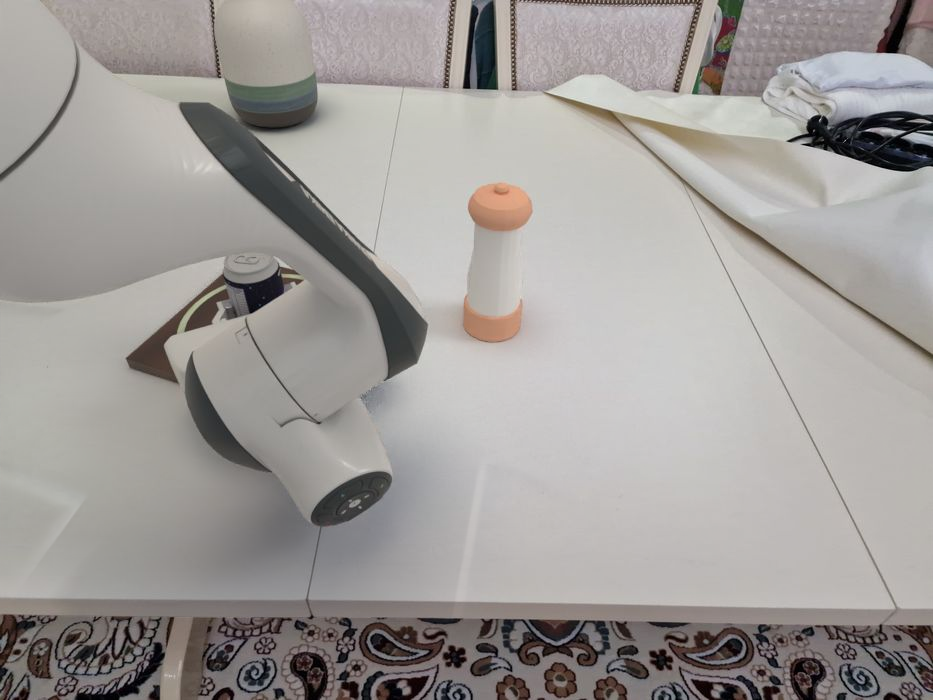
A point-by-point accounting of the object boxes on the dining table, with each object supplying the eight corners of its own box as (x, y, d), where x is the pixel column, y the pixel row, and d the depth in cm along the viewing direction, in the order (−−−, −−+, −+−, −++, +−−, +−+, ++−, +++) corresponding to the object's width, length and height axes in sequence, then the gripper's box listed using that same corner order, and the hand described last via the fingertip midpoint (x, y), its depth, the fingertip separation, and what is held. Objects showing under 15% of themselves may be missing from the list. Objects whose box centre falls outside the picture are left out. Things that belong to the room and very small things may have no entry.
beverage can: (284, 365, 68) (263, 277, 60) (236, 359, 69) (209, 271, 61) (303, 333, 73) (285, 246, 64) (257, 327, 73) (234, 240, 65)
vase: (332, 105, 129) (316, -27, 112) (304, 138, 116) (282, -4, 100) (254, 99, 130) (228, -32, 114) (219, 131, 118) (184, -11, 102)
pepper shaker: (504, 349, 74) (518, 208, 61) (452, 329, 77) (454, 189, 64) (529, 317, 79) (547, 179, 66) (479, 298, 81) (487, 162, 68)
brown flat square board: (129, 367, 70) (124, 356, 69) (244, 265, 85) (241, 255, 84) (298, 421, 65) (295, 410, 64) (387, 302, 80) (387, 291, 79)
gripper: (394, 319, 60) (344, 249, 69) (172, 387, 52) (149, 299, 61) (397, 366, 64) (350, 294, 73) (192, 435, 56) (168, 346, 65)
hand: (256, 296), depth 67 cm, fingers closed on beverage can, 5 cm apart
